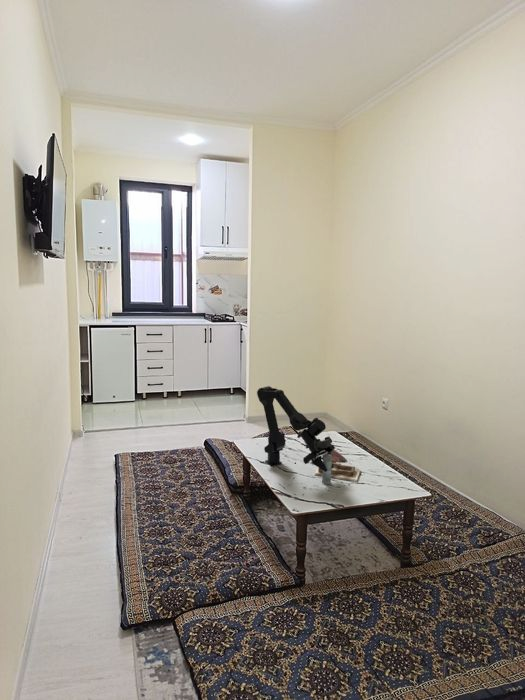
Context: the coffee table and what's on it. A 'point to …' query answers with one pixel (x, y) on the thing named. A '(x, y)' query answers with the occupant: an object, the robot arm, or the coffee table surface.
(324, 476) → the slate peg
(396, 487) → the coffee table surface
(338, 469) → the keyhole board
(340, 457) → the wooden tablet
